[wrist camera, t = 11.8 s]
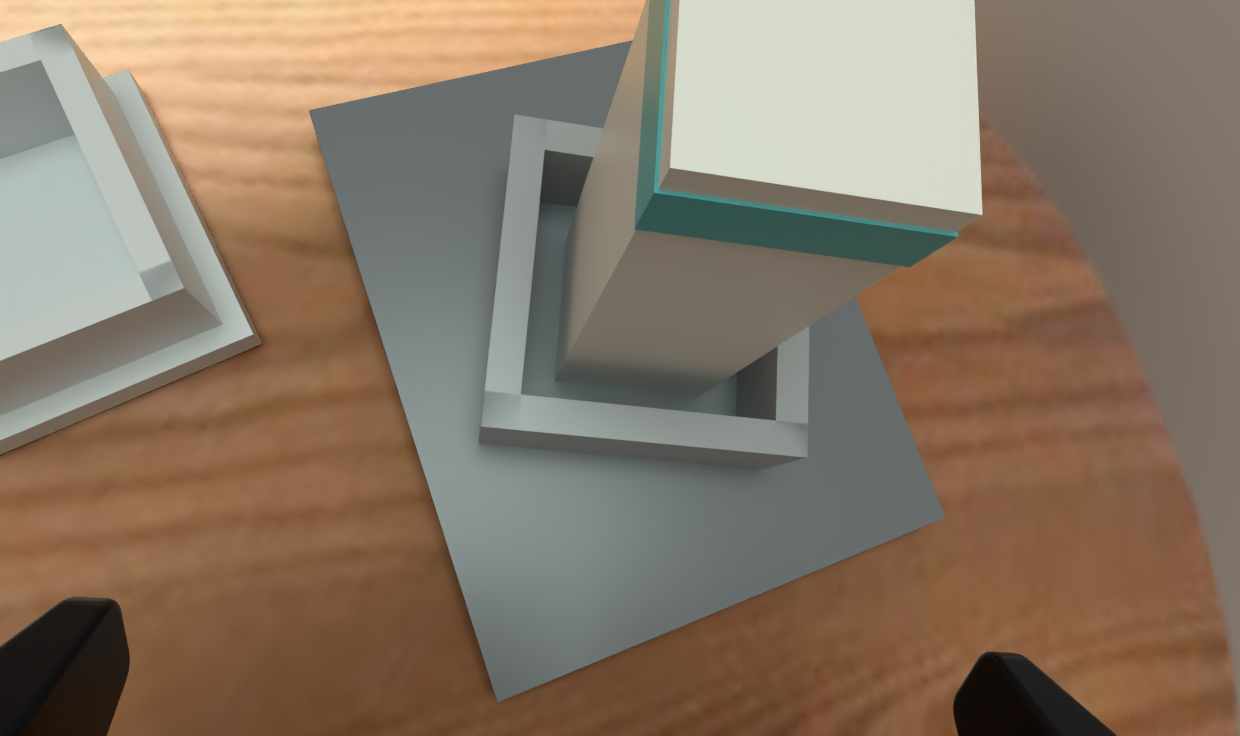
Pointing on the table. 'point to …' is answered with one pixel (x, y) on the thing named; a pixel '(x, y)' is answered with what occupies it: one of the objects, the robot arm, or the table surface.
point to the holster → (96, 247)
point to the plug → (763, 179)
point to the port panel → (590, 389)
